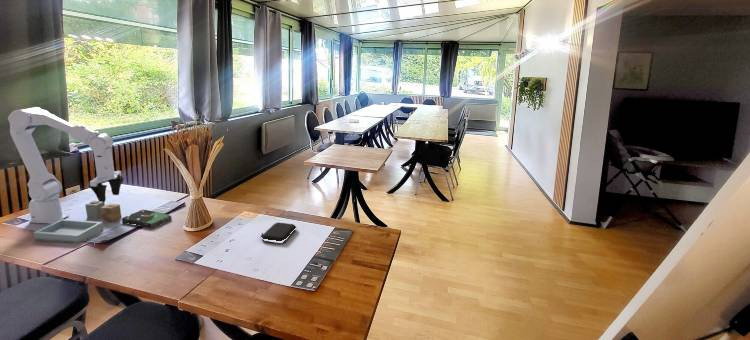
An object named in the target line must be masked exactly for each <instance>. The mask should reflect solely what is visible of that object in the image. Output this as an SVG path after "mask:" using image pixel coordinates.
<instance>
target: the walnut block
mask: <svg viewBox="0 0 750 340" xmlns="http://www.w3.org/2000/svg"><path fill="white" fill-rule="evenodd" d="M101 212H102V217H101V218H102V222H103V221H108V222H107V223H116V222H117V221H119V220H121V219H122V210H121V204H119V203H118V204H117V203H107V204H105V206H103V207H101ZM120 218H121V219H120ZM118 219H119V220H118Z"/></svg>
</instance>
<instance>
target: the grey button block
mask: <svg viewBox="0 0 750 340" xmlns="http://www.w3.org/2000/svg"><path fill="white" fill-rule="evenodd" d="M84 205H85V212H86V218H87V219H93V220H99V219H100V218H102V212H101V207H103V206H105V205H106V204H105V202H99V200H91V201H90V202H88V203H86V204H84Z"/></svg>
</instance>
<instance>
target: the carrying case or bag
mask: <svg viewBox="0 0 750 340" xmlns="http://www.w3.org/2000/svg"><path fill="white" fill-rule="evenodd" d="M295 228H296V229H297V226H296V225H295V224H293V223H287V222H276V223H274V224H272V226H270V227H269V228H268V229H267V230H266V232H262V233H261V236H260V238H261V237H262V238H263V239H268V240H276V241H282V240H284V239H286V238H287V237H288V236H289V235H290V233H291V232H292V231H293V230H294V229H295Z"/></svg>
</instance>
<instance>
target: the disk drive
mask: <svg viewBox="0 0 750 340" xmlns="http://www.w3.org/2000/svg"><path fill="white" fill-rule="evenodd" d="M172 219H173V218H172V215H170V214H169V213H164V212H159V211H158V212H157V211H153V210H148V209H141V210H138V211H136V212H133V213H131V214H130V215H129V216H128V215H126V216H124V217H121V222H122V224H125V223H129V224H128V225H130V224H136V225H140V226H139V227H141V228H145V229H150V230H152V229H155V228H157V227H159V226H162V225H163V224H165V223H168V222H170V221H171V220H172Z"/></svg>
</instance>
